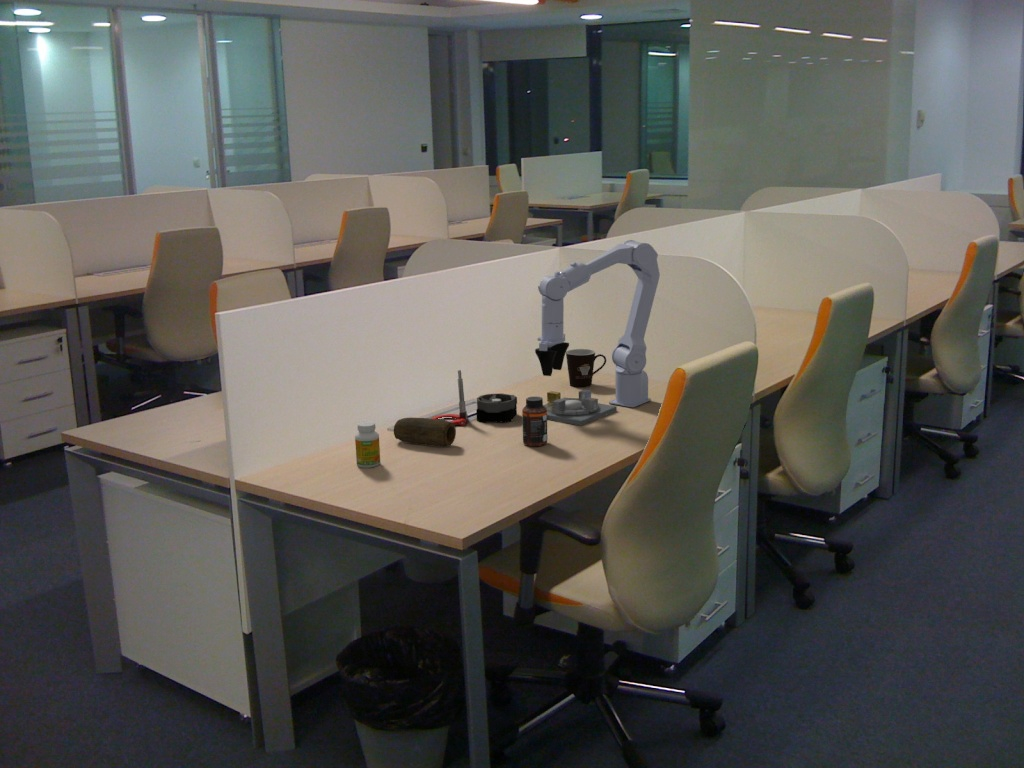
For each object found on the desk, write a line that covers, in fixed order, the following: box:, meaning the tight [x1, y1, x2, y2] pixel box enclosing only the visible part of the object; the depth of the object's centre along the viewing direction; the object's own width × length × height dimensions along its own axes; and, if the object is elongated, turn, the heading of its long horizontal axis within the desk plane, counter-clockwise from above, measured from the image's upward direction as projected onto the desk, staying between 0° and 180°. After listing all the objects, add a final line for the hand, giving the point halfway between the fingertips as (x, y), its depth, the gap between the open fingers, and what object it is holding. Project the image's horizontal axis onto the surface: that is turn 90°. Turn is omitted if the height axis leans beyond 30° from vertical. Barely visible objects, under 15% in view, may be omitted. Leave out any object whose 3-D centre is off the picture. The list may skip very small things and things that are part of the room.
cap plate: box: [543, 396, 618, 427], centre depth 264 cm, size 17×17×3 cm
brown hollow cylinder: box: [393, 416, 457, 447], centre depth 241 cm, size 15×7×7 cm, turn 68°
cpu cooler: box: [475, 393, 518, 424], centre depth 262 cm, size 10×6×10 cm
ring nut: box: [546, 388, 599, 416], centre depth 264 cm, size 15×15×4 cm
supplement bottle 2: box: [521, 396, 549, 448], centre depth 238 cm, size 6×6×11 cm
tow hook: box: [429, 369, 469, 427], centre depth 258 cm, size 9×14×10 cm
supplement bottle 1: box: [354, 420, 381, 469], centre depth 226 cm, size 5×5×10 cm
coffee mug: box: [565, 348, 607, 389], centre depth 292 cm, size 12×9×10 cm
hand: (552, 372), depth 264 cm, fingers open, 7 cm apart
